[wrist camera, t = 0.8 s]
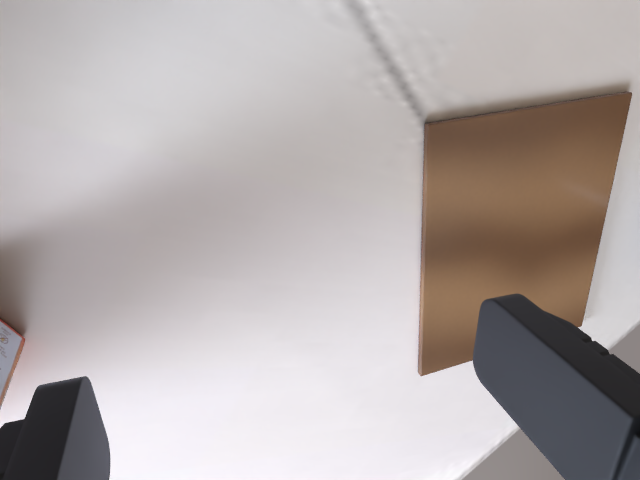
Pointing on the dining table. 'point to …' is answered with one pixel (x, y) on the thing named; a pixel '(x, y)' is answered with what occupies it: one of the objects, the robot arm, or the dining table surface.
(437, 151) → the desk mat
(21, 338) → the cracker box
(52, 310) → the dining table surface
